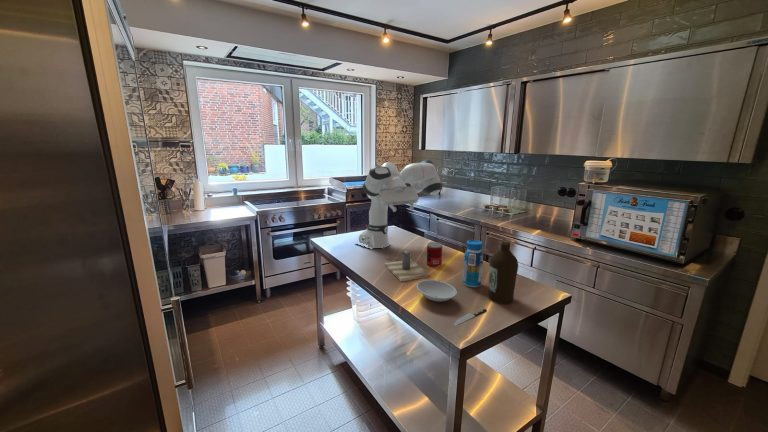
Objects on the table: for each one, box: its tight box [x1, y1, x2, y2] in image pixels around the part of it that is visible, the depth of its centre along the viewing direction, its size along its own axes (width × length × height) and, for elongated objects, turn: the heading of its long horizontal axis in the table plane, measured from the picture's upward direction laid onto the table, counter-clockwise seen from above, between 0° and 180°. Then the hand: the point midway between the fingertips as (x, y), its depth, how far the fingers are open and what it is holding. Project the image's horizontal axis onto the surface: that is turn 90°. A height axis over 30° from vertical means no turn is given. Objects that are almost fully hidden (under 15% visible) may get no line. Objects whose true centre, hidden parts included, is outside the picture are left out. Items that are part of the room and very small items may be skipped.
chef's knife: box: [453, 308, 487, 327], centre depth 110 cm, size 19×1×3 cm
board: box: [384, 258, 430, 282], centre depth 150 cm, size 20×15×2 cm
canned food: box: [426, 241, 443, 268], centre depth 158 cm, size 8×8×11 cm
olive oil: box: [488, 239, 519, 305], centre depth 120 cm, size 11×11×25 cm
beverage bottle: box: [462, 239, 484, 288], centre depth 134 cm, size 8×8×20 cm
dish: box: [415, 279, 458, 303], centre depth 122 cm, size 18×14×5 cm
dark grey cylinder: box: [401, 250, 411, 270], centre depth 149 cm, size 4×4×9 cm
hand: (403, 210), depth 152 cm, fingers open, 8 cm apart
